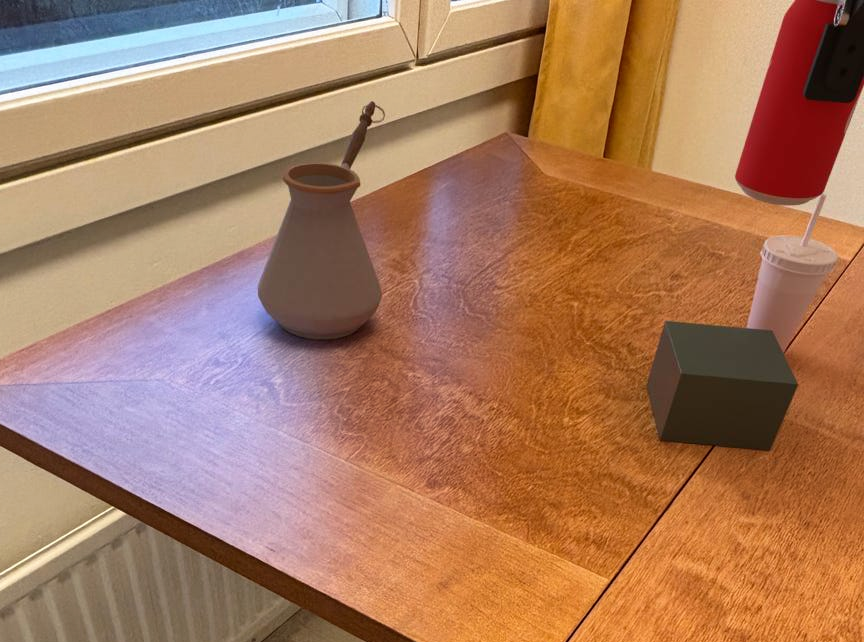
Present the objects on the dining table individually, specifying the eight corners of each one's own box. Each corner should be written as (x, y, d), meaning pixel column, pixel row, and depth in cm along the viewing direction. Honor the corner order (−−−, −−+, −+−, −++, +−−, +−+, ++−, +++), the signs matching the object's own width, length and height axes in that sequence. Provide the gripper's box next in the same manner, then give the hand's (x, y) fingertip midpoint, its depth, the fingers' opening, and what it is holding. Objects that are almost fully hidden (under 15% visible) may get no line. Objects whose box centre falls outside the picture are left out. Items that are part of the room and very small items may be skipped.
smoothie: (804, 349, 85) (869, 196, 76) (785, 375, 82) (850, 217, 72) (740, 329, 88) (794, 177, 78) (718, 353, 84) (772, 197, 74)
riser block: (747, 394, 79) (772, 330, 75) (770, 450, 72) (798, 384, 68) (646, 385, 79) (665, 320, 75) (659, 440, 73) (681, 373, 68)
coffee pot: (359, 359, 79) (366, 179, 69) (239, 336, 81) (228, 157, 70) (420, 268, 94) (433, 108, 83) (317, 249, 96) (317, 90, 85)
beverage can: (823, 190, 66) (899, -9, 57) (814, 217, 62) (894, 7, 53) (738, 173, 67) (799, -23, 59) (723, 198, 63) (787, -8, 55)
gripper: (1100, -308, 41) (912, 129, 53) (960, -295, 53) (835, 58, 65) (934, -320, 41) (786, 119, 53) (833, -305, 53) (732, 50, 66)
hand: (814, 82), depth 59 cm, fingers closed on beverage can, 6 cm apart
